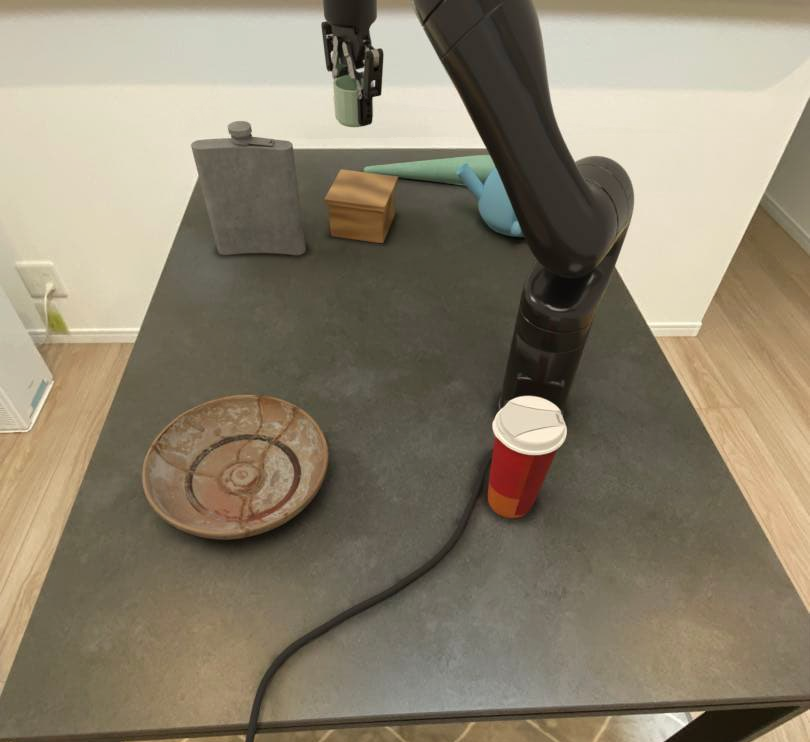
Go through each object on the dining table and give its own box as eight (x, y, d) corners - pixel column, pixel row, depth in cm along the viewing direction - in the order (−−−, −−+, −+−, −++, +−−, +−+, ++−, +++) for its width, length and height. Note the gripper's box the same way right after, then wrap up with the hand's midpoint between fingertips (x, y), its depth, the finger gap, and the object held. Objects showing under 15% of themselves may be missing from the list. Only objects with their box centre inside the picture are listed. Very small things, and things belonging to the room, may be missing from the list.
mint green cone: (365, 138, 122) (496, 149, 120) (366, 167, 127) (492, 178, 125) (360, 151, 119) (495, 162, 117) (361, 180, 124) (491, 191, 122)
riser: (384, 245, 111) (384, 207, 105) (327, 237, 112) (324, 199, 106) (397, 214, 117) (398, 176, 111) (343, 206, 118) (340, 169, 112)
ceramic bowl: (365, 458, 82) (363, 433, 78) (257, 587, 71) (249, 566, 67) (232, 396, 89) (224, 369, 84) (115, 506, 77) (99, 481, 73)
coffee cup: (536, 475, 81) (562, 391, 69) (546, 524, 77) (576, 445, 64) (474, 475, 81) (490, 392, 69) (481, 526, 77) (498, 446, 64)
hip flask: (216, 255, 108) (184, 131, 91) (219, 242, 110) (189, 119, 94) (305, 255, 109) (289, 132, 92) (306, 242, 111) (291, 120, 94)
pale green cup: (368, 130, 94) (367, 93, 90) (331, 126, 95) (328, 88, 90) (376, 113, 97) (376, 77, 93) (340, 109, 98) (338, 72, 94)
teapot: (554, 256, 110) (572, 184, 99) (446, 244, 111) (452, 172, 101) (557, 200, 121) (572, 130, 110) (458, 190, 122) (464, 120, 111)
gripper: (299, -36, 83) (311, 104, 98) (352, -4, 77) (357, 140, 91) (345, -43, 86) (351, 94, 100) (401, -13, 79) (399, 128, 94)
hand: (354, 115), depth 95 cm, fingers closed on pale green cup, 6 cm apart
